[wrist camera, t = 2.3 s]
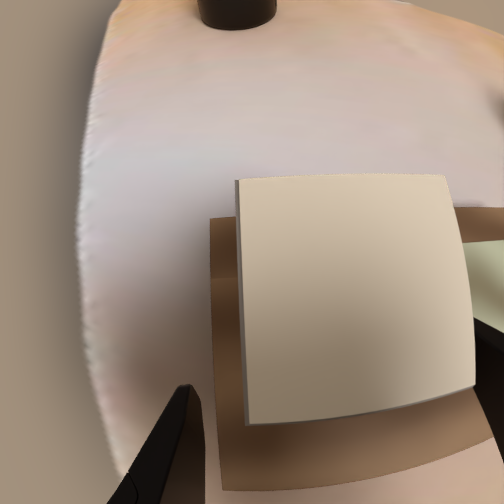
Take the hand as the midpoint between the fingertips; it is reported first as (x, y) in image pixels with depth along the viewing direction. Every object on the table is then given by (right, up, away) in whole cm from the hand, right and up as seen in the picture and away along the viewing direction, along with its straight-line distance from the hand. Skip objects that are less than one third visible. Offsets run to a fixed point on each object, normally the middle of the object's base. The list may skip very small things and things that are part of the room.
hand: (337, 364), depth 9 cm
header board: (+7, -2, +9) cm, 11 cm away
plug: (0, -1, +10) cm, 10 cm away
